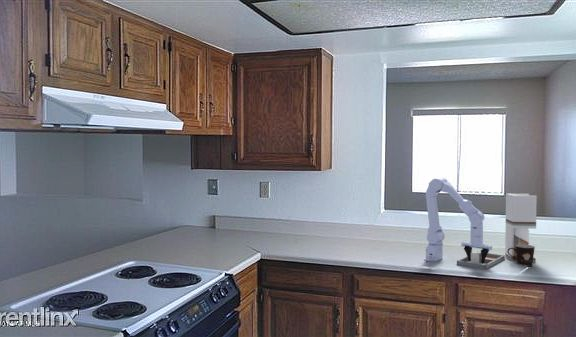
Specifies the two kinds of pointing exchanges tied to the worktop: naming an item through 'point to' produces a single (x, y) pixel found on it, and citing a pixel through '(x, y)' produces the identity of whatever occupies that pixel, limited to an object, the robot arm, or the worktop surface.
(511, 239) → the coffee maker
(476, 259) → the white rectangular block
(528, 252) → the coffee mug
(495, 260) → the tray
